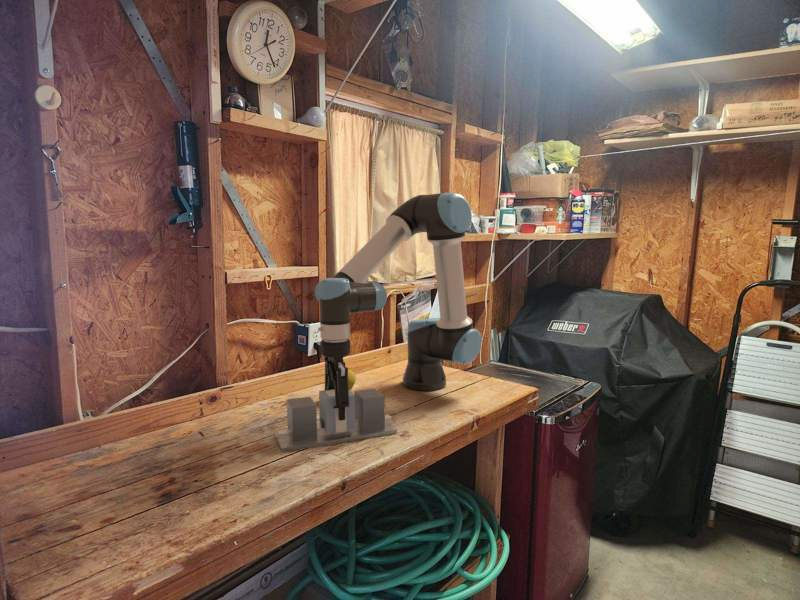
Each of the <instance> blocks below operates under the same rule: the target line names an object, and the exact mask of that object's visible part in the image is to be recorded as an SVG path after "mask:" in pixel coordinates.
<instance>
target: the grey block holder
mask: <svg viewBox="0 0 800 600" xmlns="http://www.w3.org/2000/svg"><path fill="white" fill-rule="evenodd" d="M353 394H354V395H355V430H349V431H343V432H337V433H330V434H326V433H325V424H321V425H320V424H318V419H317V417H318V416H317V415H318V414H317V411H318V410H317V404H316V403H315V401H314V400H313V398H312V397H311V396H304V397H296V398H290V399H286V416H287V417H286V419H287V422H286V423H287V424H286V425H287V429H282V430H277V431H276V432H275V433H274V437H275V440H276V442H277V444H278V447H279V450H280V452H281V453H286V452H291V451H298V450H303V449H310V448H317V447H322V446H329V445H334V444H341V443H347V442H355V441H359V440H364V439H370V438H378V437H382V436H390V435H395V434H398V429H397V428H396V427H395V426H394V425H393V417H392V416H391V414H385V413H386V412H385V411H386V409H385V407H386V406H385V405H386V404H385V401H386V399H385V398H386V397H385V395H384V394H383V393H382V392H380V391H379V390H378V389H376V388H369V389H362V390H361V389H359V390H355V391H354V390H353Z"/></svg>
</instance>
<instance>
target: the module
mask: <svg viewBox="0 0 800 600" xmlns="http://www.w3.org/2000/svg"><path fill="white" fill-rule="evenodd" d="M348 394H349V407H346V427H347V431H349V430H355V395H354V392H352V390H349V389H348ZM318 400H319V401H318V404H319V407H318V410H319V414H318V416H319V425H321V424H325V433H326V434H330V433H336V432H335V409H334V407H333V406H336V398H335V389H331V390H324V389H323V390H319V391H318Z"/></svg>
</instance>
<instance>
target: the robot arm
mask: <svg viewBox="0 0 800 600" xmlns="http://www.w3.org/2000/svg"><path fill="white" fill-rule="evenodd" d="M472 216H473V215H472V210H471V206H470V203H469V202H468V200H467V199H466V198H465V197H464V196H463V195H462V194H459V193H456V192H442V193H441V192H440V193H433V194H419V195H416V196H412V197H411V198H409V199H407V200H406V201H404V202H403V203H402V204H400V206H398V207H397V208H396V209H395V210H393V211H392V213H390V215H389V216H388V217H387V218H386V219H385V224H384V225H383V226H382V227H381V228H380V229H379V230H378V231H377V232H376V233H375V234H374V235H373V236H372V238H371V239H370V240H368V241H367V242H366V244H364V245H363V247H361V249H359V250H358V251H357V253H356V254H354V255H353V257H351V258H350V259H349V261H347V263H346V264H344V266H342V267H341V268H340V270H338V272H336V274H334V276H332V277H328V278H327V277H326V278H322V279H321V280H320V281H319V282H318V283H316V285H315V289H314V297H315V298H316V300H317V302H318V304H319V325H320V327H318V329H317V331H319V332H320V338H321V340H320V354H321V356H323V357H324V389H323V390H331V389H335V398H336V406H333V407H334V409H335V432H336V433H337V432H343V431H347V427H346V407H349V394H348V369H349V368H348V367H347V366H346V361H344V357H346V356H348V355H350V353H351V340H350V338H351V315H353V314H359V313H368V312H376V311H378V310H381V309H383V308H384V307H385V305H386V304H387V300H388V295H387V293H388V292H387V290H386V288H385V286H384V285H383V284H381V283H380V282H368V283H367V282H366V281H367V280H368V279H369V278H370V276H372V275H373V273H375V271H376V270H377V269H378V268H379V267H380V266H381V265H382V264H383V263H384V262H385V261H386V260H387V259H388V257H389V256H391V255H392V253H394V252H395V250H396V249H397V248H398V247H399V246H400V245H401V244H402V243H403V242H405V241H406V242H407V241H410V239H411V238H412V237H413V236H414V235H416V234H420V233H426V238H427V241H428V242H429V243H430V244H431V245H432V250H433V257H434V260H433V261H434V267H435V269H434V270H435V278H436V288H437V297H438V307H439V308H438V309H439V317H440V318H439V317H430V318H429V317H428V318H419V319H413V320H410V322H409V323H408V325H407V333H406V334H407V364H406V367H405V371H404V373H403V377H402V385H403V387H404V388H406V389H411V390H414V391H422V392H423V391H424V392H425V391H426V392H427V391H428V392H429V391H437V390H441V389H443V388H446V386H447V376H446V373H445V371H444V367H443V363H442V361H446V362H451V363H454V364H456V365H457V364H462V365H468V364H470V363H472V362H473V361H475V359H477V357H478V356H479V353H480V351H481V348H482V344H483V343H482V342H483V341H482V338H483V337H482V335H481V334H482V333H481V332H480V331H479V330H478V329H476V328H474V325H473V319H472V318H471V317H469V316H468V311H467V299H466V287H465V277H464V275H465V274H464V264H463V254H462V241H463V239H465V237H466V231H467V230H468V229H469V228H470V226H471V224H470V223H472V219H473V218H472ZM365 282H366V283H365Z"/></svg>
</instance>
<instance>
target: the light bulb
mask: <svg viewBox="0 0 800 600" xmlns="http://www.w3.org/2000/svg"><path fill="white" fill-rule="evenodd" d="M356 380H357V379H356V375H355V372H354V371H353V370H351V369H350V368H348V389H349V390H350V391H352V389H353V387H354V386H355V383H356Z"/></svg>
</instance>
